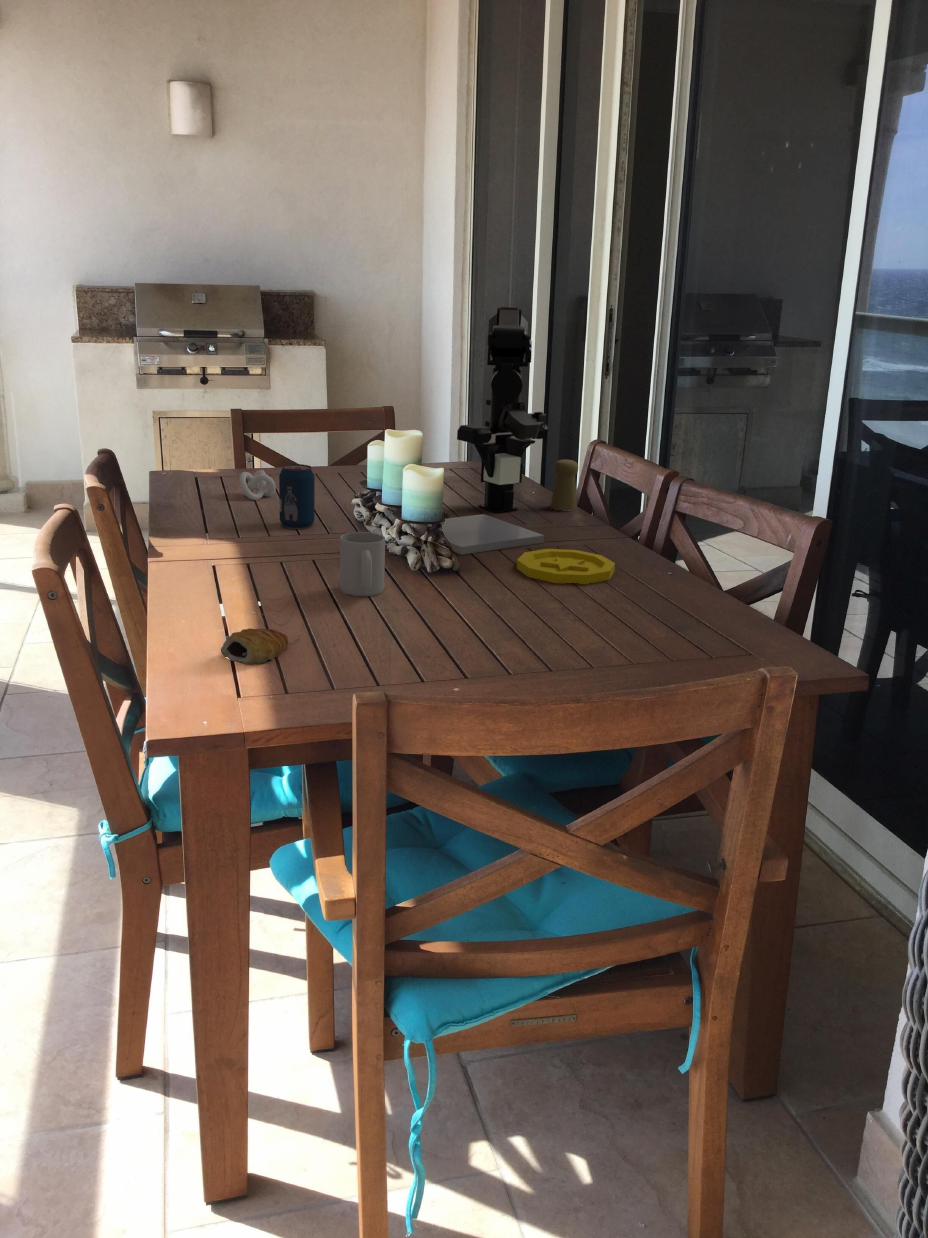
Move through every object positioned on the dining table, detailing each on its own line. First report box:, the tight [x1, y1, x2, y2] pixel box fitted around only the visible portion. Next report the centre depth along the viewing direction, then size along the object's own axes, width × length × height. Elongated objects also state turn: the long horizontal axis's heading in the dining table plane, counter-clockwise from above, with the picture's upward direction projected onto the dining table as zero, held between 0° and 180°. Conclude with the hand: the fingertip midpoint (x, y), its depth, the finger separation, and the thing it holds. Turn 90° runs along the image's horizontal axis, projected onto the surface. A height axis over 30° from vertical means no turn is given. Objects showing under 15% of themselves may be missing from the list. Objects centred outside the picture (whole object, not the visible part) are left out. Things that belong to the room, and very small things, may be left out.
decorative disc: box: [516, 548, 616, 585], centre depth 188 cm, size 17×18×2 cm
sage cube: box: [483, 453, 522, 485], centre depth 205 cm, size 5×5×5 cm
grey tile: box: [442, 513, 545, 555], centre depth 208 cm, size 20×20×2 cm
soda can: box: [278, 463, 316, 530], centre depth 209 cm, size 7×7×12 cm
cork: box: [549, 458, 579, 511], centre depth 235 cm, size 6×6×11 cm
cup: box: [339, 531, 386, 598], centre depth 169 cm, size 7×10×9 cm
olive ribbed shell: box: [220, 628, 289, 665], centre depth 142 cm, size 9×7×4 cm
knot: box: [238, 469, 277, 501], centre depth 233 cm, size 8×8×6 cm
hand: (501, 476), depth 206 cm, fingers closed on sage cube, 5 cm apart
